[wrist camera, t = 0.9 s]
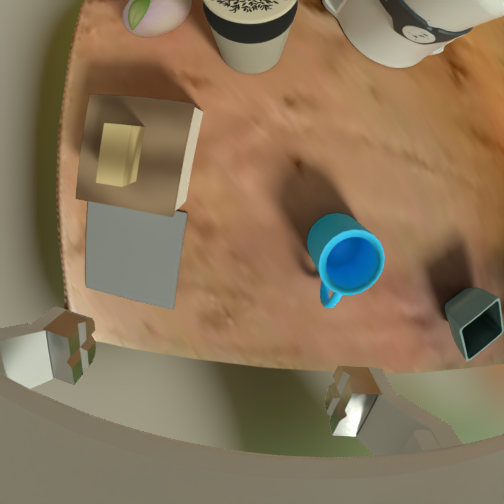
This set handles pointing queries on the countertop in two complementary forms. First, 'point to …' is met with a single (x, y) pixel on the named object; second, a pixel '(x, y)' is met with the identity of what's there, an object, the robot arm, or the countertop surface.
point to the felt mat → (134, 253)
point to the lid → (133, 152)
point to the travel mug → (250, 31)
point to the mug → (344, 256)
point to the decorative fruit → (154, 16)
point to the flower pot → (474, 320)
